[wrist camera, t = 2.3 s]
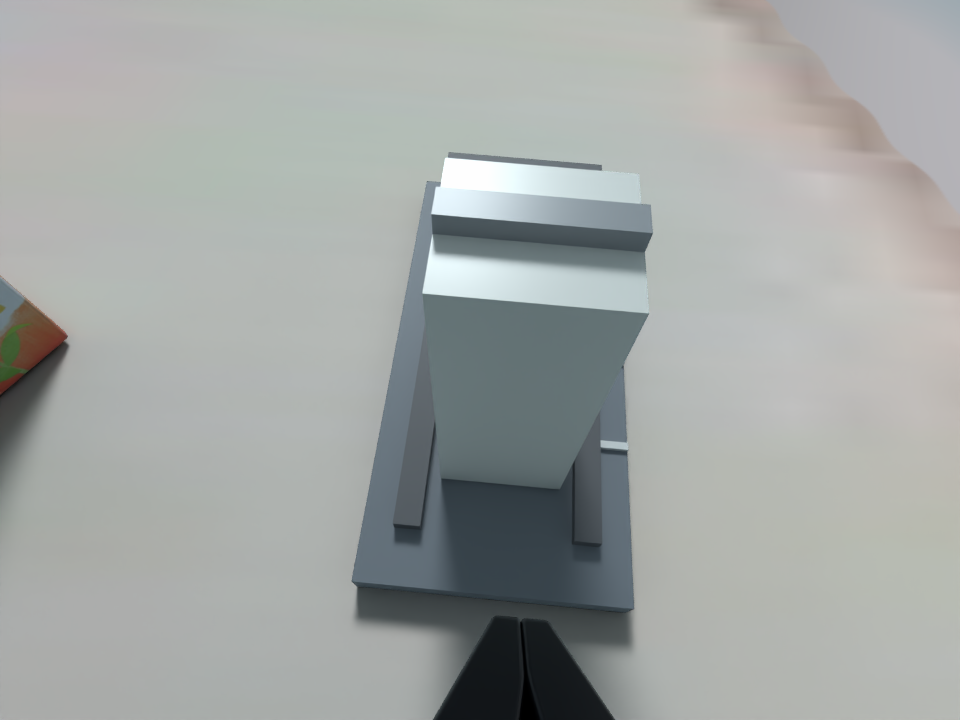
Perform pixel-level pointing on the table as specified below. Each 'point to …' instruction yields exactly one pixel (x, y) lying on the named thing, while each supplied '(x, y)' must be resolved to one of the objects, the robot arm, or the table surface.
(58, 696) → the table surface
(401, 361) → the fader track base
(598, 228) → the fader cap
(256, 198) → the table surface
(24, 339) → the cracker box
